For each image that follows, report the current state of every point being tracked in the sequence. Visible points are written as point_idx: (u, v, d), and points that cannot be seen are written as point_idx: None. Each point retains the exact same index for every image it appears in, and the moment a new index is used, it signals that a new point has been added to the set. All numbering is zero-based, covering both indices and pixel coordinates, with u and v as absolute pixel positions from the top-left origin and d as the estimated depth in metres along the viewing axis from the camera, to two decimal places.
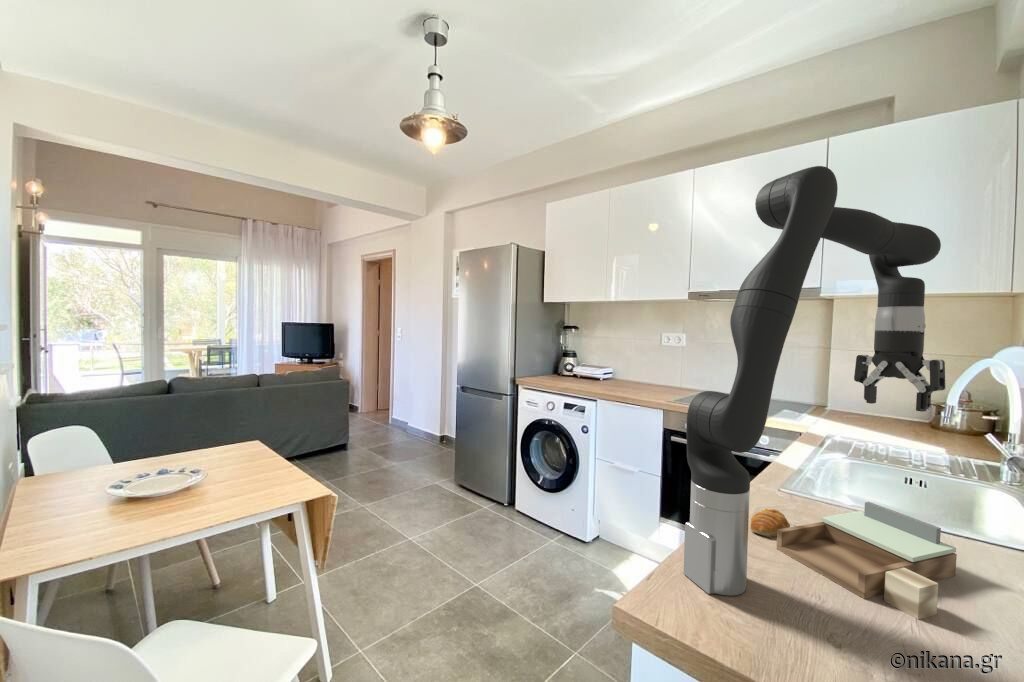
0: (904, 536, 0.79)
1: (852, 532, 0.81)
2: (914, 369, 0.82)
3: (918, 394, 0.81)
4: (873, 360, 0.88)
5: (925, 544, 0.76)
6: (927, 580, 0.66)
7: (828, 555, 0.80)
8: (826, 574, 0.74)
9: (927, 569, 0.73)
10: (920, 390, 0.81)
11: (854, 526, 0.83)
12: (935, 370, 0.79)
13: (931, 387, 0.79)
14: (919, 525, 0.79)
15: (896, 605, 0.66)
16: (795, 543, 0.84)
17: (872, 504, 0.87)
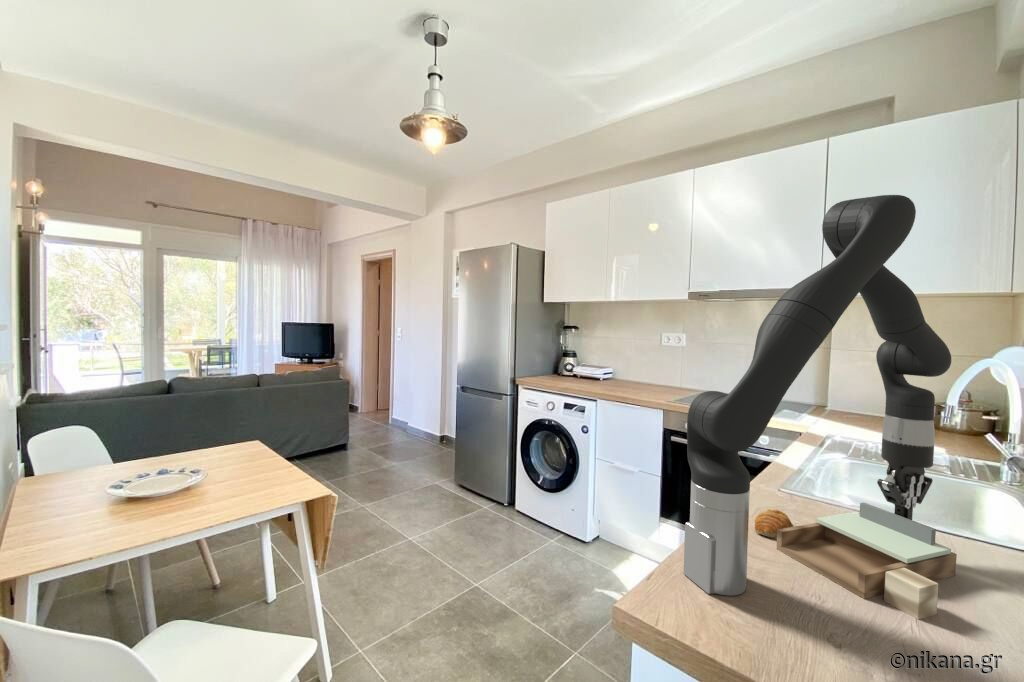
0: (899, 537, 0.79)
1: (847, 533, 0.81)
2: None
3: (911, 510, 0.82)
4: (900, 477, 0.81)
5: (920, 545, 0.76)
6: (927, 580, 0.66)
7: (828, 555, 0.80)
8: (826, 574, 0.74)
9: (927, 569, 0.73)
10: (913, 506, 0.82)
11: (849, 526, 0.83)
12: (928, 487, 0.83)
13: (919, 499, 0.82)
14: (914, 526, 0.79)
15: (896, 605, 0.66)
16: (795, 543, 0.84)
17: (868, 505, 0.87)
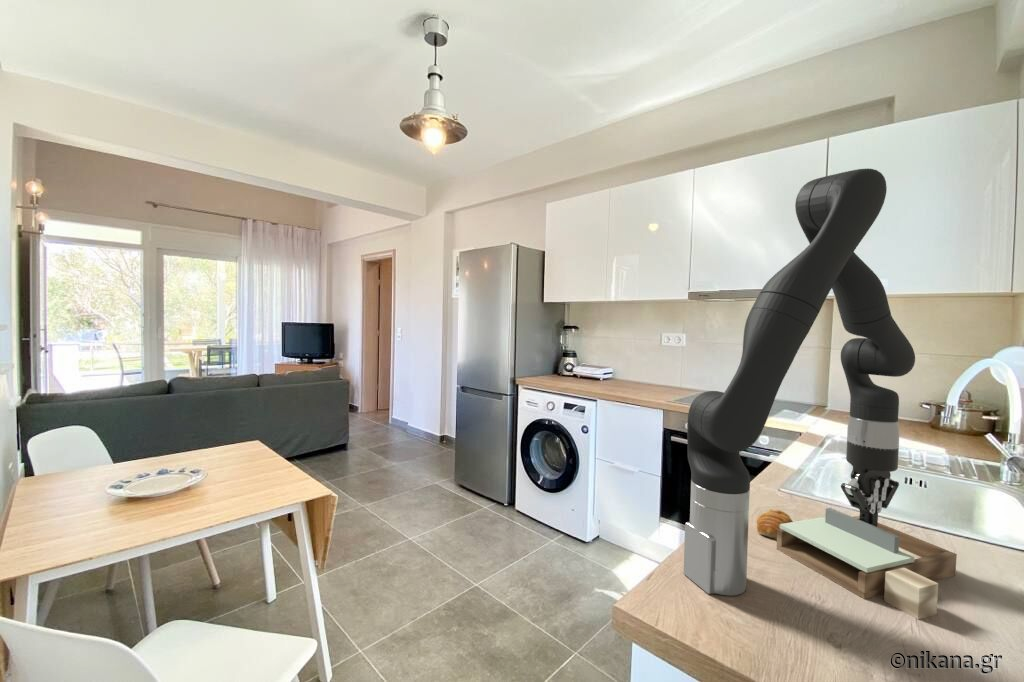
0: (862, 544, 0.76)
1: (809, 540, 0.78)
2: None
3: (876, 515, 0.79)
4: (864, 481, 0.78)
5: (883, 553, 0.73)
6: (927, 580, 0.66)
7: (828, 555, 0.80)
8: (826, 574, 0.74)
9: (927, 569, 0.73)
10: (878, 510, 0.79)
11: (812, 533, 0.80)
12: (894, 491, 0.80)
13: (884, 504, 0.79)
14: (878, 533, 0.76)
15: (896, 605, 0.66)
16: (795, 543, 0.84)
17: (833, 510, 0.84)
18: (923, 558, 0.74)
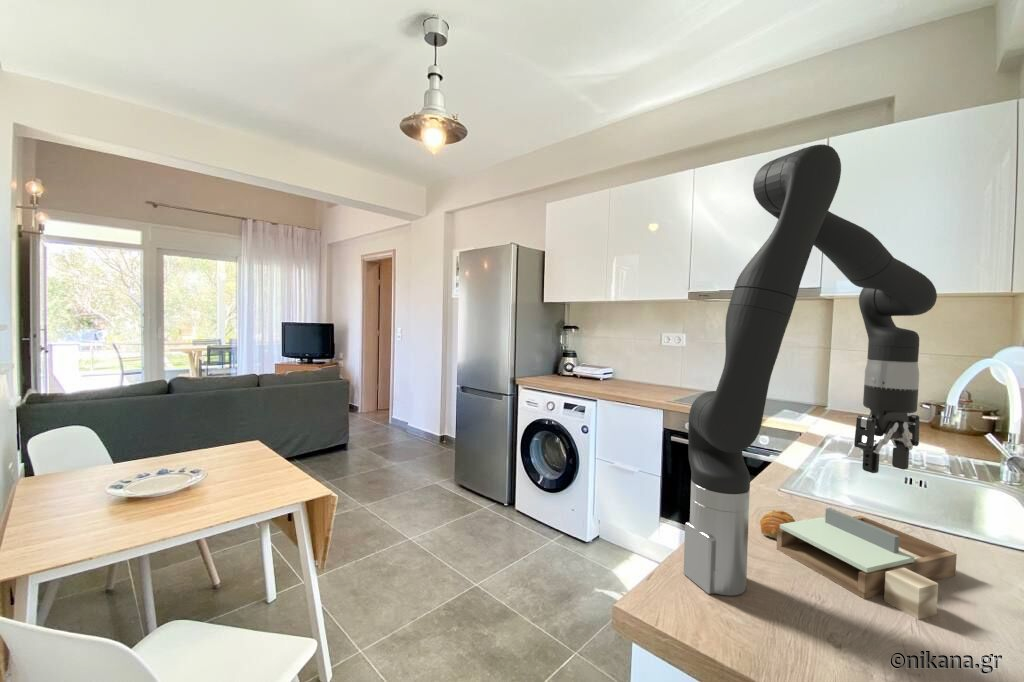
0: (862, 544, 0.76)
1: (809, 540, 0.78)
2: None
3: (907, 452, 0.78)
4: (882, 422, 0.75)
5: (883, 553, 0.73)
6: (927, 580, 0.66)
7: (828, 555, 0.80)
8: (826, 574, 0.74)
9: (927, 569, 0.73)
10: (910, 448, 0.78)
11: (812, 533, 0.80)
12: (918, 425, 0.78)
13: (915, 443, 0.78)
14: (878, 533, 0.76)
15: (896, 605, 0.66)
16: (795, 543, 0.84)
17: (833, 510, 0.84)
18: (923, 558, 0.74)
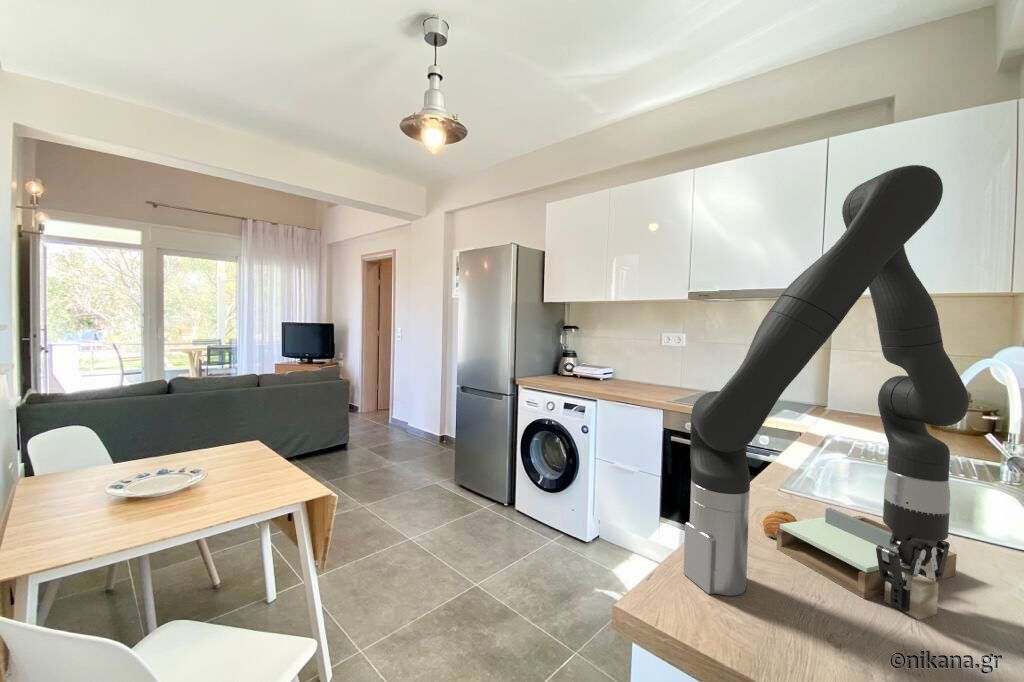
0: (862, 544, 0.76)
1: (809, 540, 0.78)
2: None
3: None
4: (906, 550, 0.64)
5: None
6: (927, 580, 0.66)
7: (828, 555, 0.80)
8: (826, 574, 0.74)
9: None
10: None
11: (812, 533, 0.80)
12: (946, 554, 0.67)
13: (939, 574, 0.66)
14: (878, 533, 0.76)
15: None
16: (795, 543, 0.84)
17: (833, 510, 0.84)
18: None
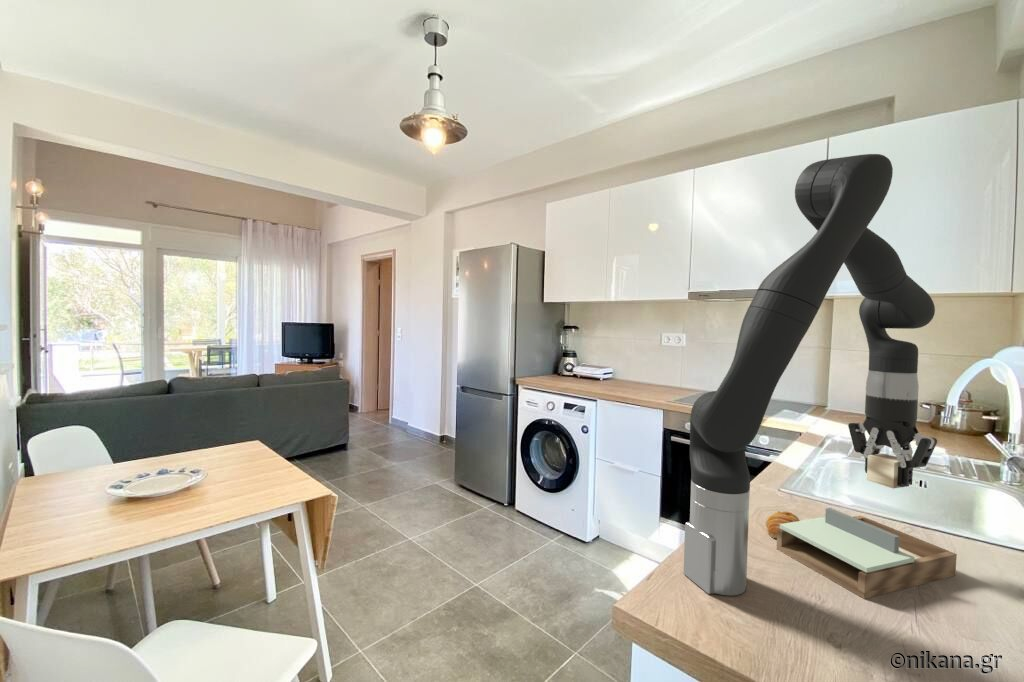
0: (862, 544, 0.76)
1: (809, 540, 0.78)
2: None
3: None
4: None
5: (883, 553, 0.73)
6: (883, 454, 0.82)
7: (828, 555, 0.80)
8: (826, 574, 0.74)
9: (927, 569, 0.73)
10: None
11: (812, 533, 0.80)
12: None
13: None
14: (878, 533, 0.76)
15: None
16: (795, 543, 0.84)
17: (833, 510, 0.84)
18: (923, 558, 0.74)
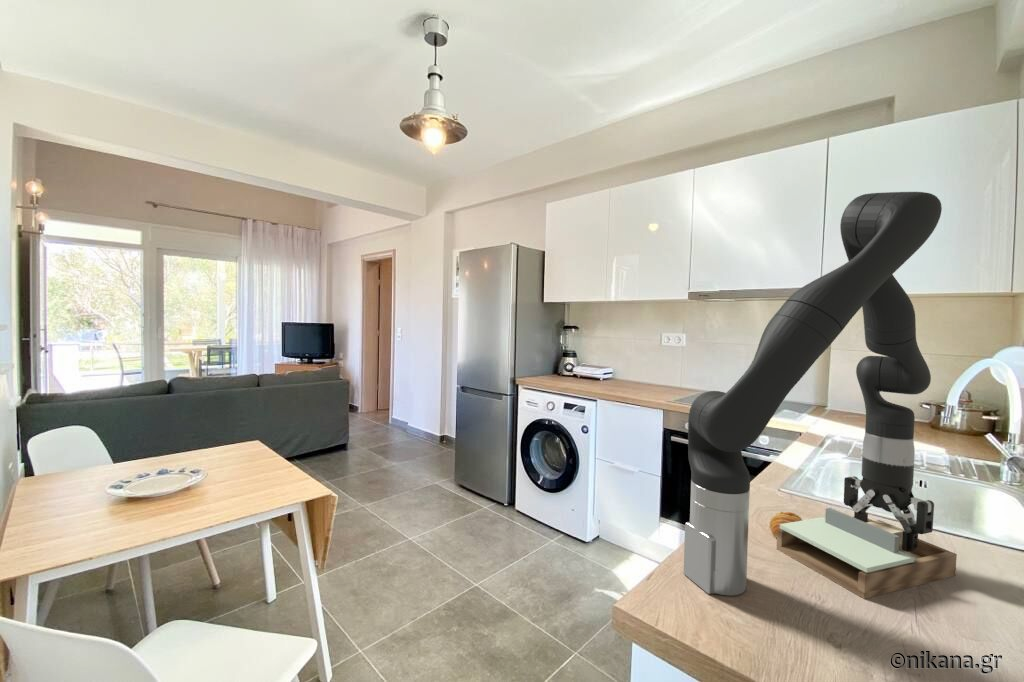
0: (862, 544, 0.76)
1: (809, 540, 0.78)
2: None
3: None
4: None
5: (883, 553, 0.73)
6: (879, 522, 0.83)
7: (828, 555, 0.80)
8: (826, 574, 0.74)
9: (927, 569, 0.73)
10: None
11: (812, 533, 0.80)
12: None
13: None
14: (878, 533, 0.76)
15: None
16: (795, 543, 0.84)
17: (833, 510, 0.84)
18: (923, 558, 0.74)
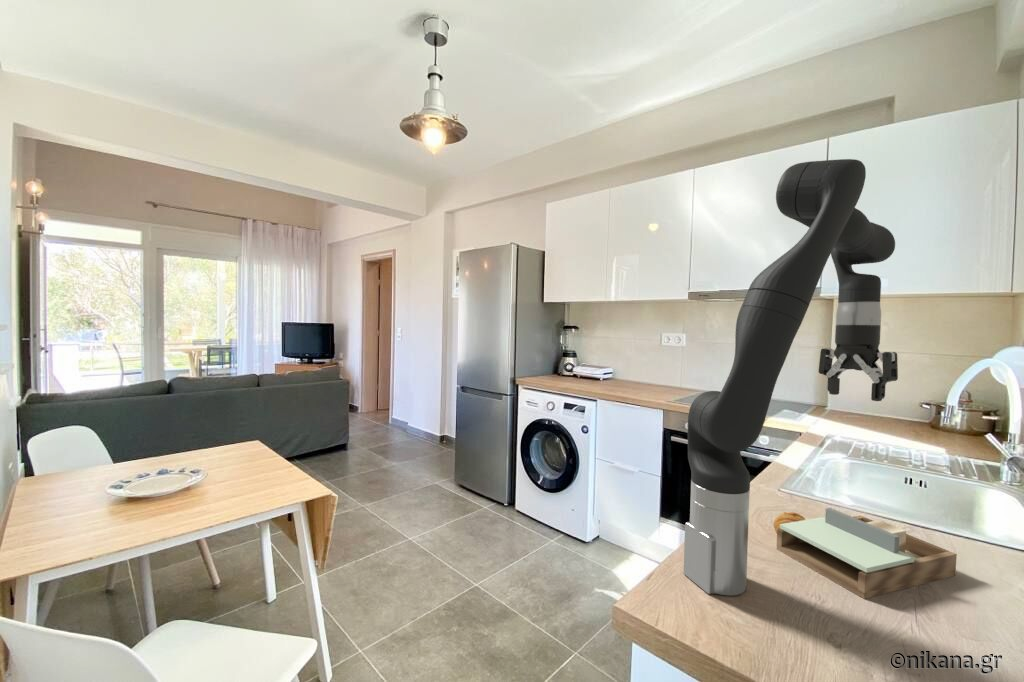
0: (862, 544, 0.76)
1: (809, 540, 0.78)
2: None
3: None
4: None
5: (883, 553, 0.73)
6: (879, 522, 0.83)
7: (828, 555, 0.80)
8: (826, 574, 0.74)
9: (927, 569, 0.73)
10: None
11: (812, 533, 0.80)
12: None
13: None
14: (878, 533, 0.76)
15: None
16: (795, 543, 0.84)
17: (833, 510, 0.84)
18: (923, 558, 0.74)
